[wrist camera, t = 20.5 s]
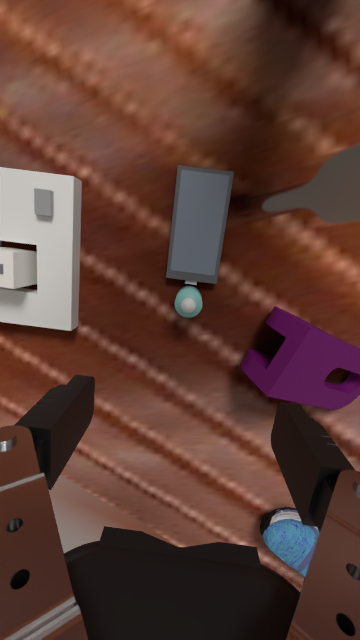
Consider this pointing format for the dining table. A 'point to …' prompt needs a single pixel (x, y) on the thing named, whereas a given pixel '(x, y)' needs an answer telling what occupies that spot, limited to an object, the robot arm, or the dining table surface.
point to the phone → (198, 224)
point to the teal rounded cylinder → (188, 301)
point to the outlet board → (43, 246)
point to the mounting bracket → (304, 365)
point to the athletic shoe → (289, 538)
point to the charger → (17, 267)
